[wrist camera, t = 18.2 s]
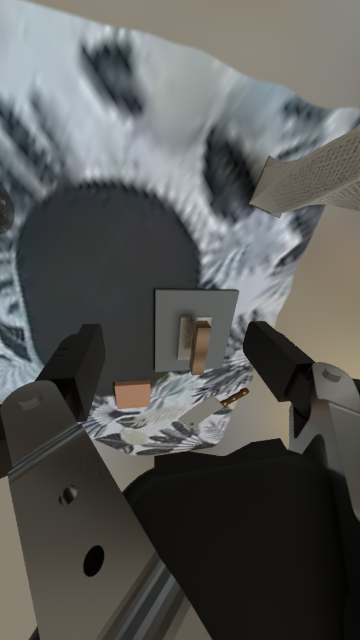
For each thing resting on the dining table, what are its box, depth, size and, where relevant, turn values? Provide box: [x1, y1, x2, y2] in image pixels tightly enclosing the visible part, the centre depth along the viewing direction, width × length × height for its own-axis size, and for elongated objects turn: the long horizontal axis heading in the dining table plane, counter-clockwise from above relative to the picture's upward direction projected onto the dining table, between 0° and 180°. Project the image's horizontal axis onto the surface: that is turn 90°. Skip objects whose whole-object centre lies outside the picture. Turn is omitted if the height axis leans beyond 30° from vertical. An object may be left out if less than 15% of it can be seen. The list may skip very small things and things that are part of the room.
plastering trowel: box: [177, 316, 212, 375], centre depth 41 cm, size 13×7×7 cm, turn 176°
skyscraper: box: [249, 127, 360, 218], centre depth 21 cm, size 8×8×28 cm
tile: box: [115, 380, 150, 409], centre depth 51 cm, size 9×2×9 cm
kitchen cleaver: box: [179, 388, 249, 428], centre depth 59 cm, size 24×1×10 cm
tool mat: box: [155, 289, 239, 372], centre depth 44 cm, size 18×22×1 cm
